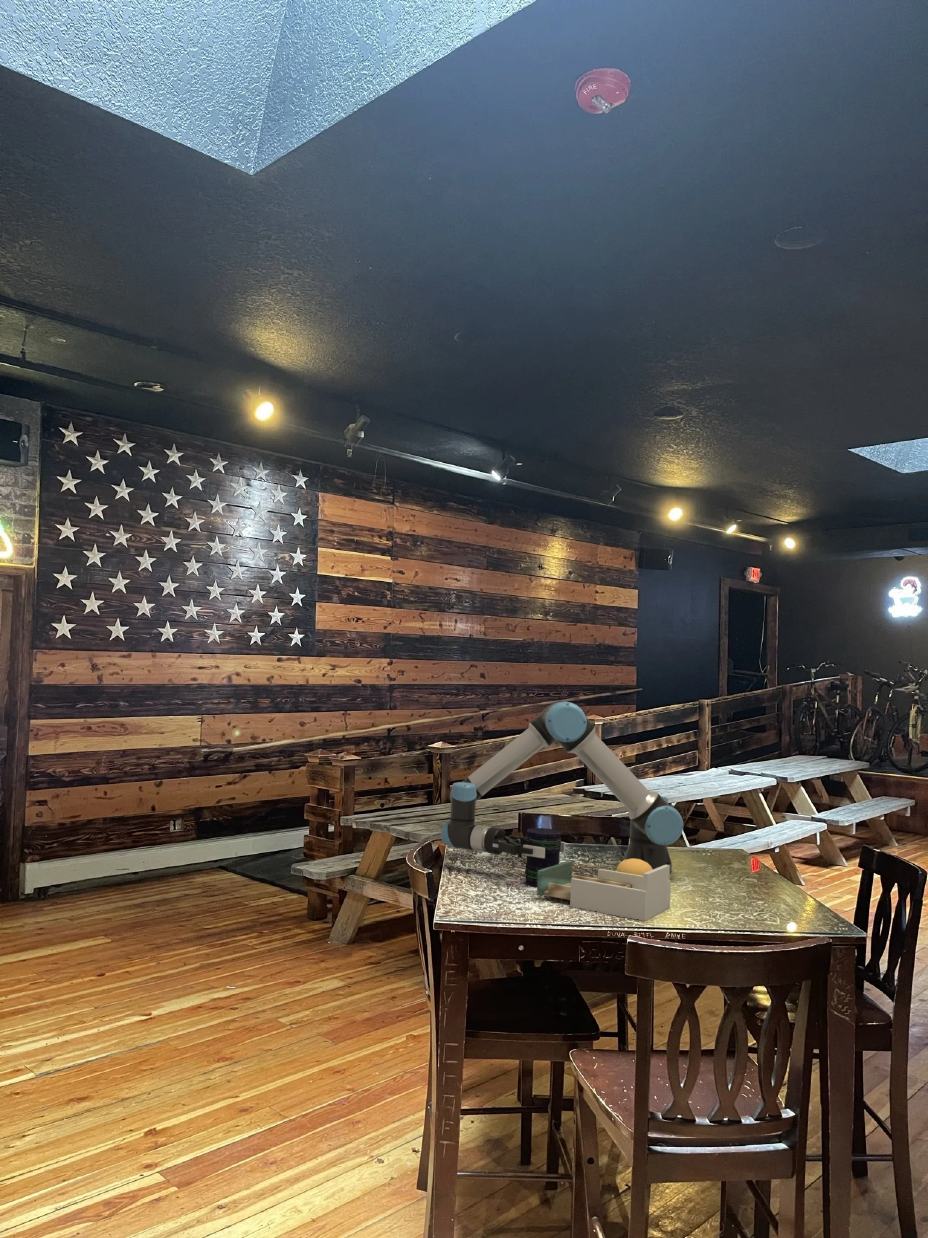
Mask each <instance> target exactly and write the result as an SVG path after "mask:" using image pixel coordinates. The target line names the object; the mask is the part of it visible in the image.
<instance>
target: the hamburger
mask: <svg viewBox="0 0 928 1238" xmlns="http://www.w3.org/2000/svg"><path fill="white" fill-rule="evenodd" d="M651 870H653V869H652V867H651V866H650V865H649V864H648V863H647V862H645V861H643V860H640V859H627V860H624V859H623V860H622V861H621V862H619V863H618V865H617V867H616V869H615V870H614V871H617V872H623V873H629V874H635V875H641V876H643V873H646V872H648V871H651Z"/></svg>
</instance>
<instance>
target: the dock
mask: <svg viewBox="0 0 928 1238" xmlns="http://www.w3.org/2000/svg"><path fill="white" fill-rule="evenodd" d="M670 873H671V872H670V865H663V866H661V867H658V868H656V869H653V870H651V871H648V872H646V873H643V876H641V875H635V874H629V873H623V872H617V871H615V870H611V869H604V868H598V869H597V879H601V880H607V881H613V882H618V883H624V884H630V885H632V888H628V887H622V886H616V885H611V884H605V883H599V882H593V881H588V880H582V879H576V878H572V879H571V896H570V900H569V901H570V903H569V907H570V908H574V907H576V908H575V909H579V908H582V909H581V910H585V911H590V910H591V911H590V912H595V911H597V912H596V913H599V914H600V913H601V914H607V915H610V914H612V915H611V916H615V915H616V917H621V916H622V917H621V918H627V919H631V918H632V919H631V920H636V919H639V920H638V921H641V920H642V921H641V922H646V921H648V920H650V919H651V918H653V916H654V917H656V916H657V915H659V914H661V913H664V912H665V911H667V910H669V909H671V887H672V886H671V885H672V880H671V879H670ZM649 918H650V919H649ZM647 919H648V920H647Z"/></svg>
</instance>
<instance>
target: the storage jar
mask: <svg viewBox="0 0 928 1238" xmlns="http://www.w3.org/2000/svg"><path fill="white" fill-rule="evenodd" d="M526 832H527V835H526V837H527V841H526V843H527V845H529V846H536V847H542V848H545V858H539V857H533V856H526V863H525V869H524V875H525V877H524V878H525V881H524V885H526V886H528V885H529V887H532V888H536V887H537V882H538V870H541V869H545V868H548V867H551V866H554V865H558V864H560V853H561V852H560V850H561V849H560V846H561V842H562V837H561V835H562V831H560V830H557V829H553V828H545V827H544V828H543V827H535V828H534V827H533V828H532V827H531V828H528V829H527V831H526Z"/></svg>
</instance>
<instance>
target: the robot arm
mask: <svg viewBox="0 0 928 1238" xmlns="http://www.w3.org/2000/svg"><path fill="white" fill-rule="evenodd" d="M555 742H557V743H558V744H559V745H560V746H561V747H562V748H563V750H564V751H565V752H567V754H575V755H576V756H577V757H578V758H579V759H580V760H581V762H582V763H584V765H585V766H586V767H587V768H588V769H589V770H590V771H591V772H592V773H593V774H594V775H595V776H596V777H597V779H599V780H600V782H601V783H603V785H604V786H605V787H606V788H607V789H608V790H609V791H610V792H611V793H612V794H613V795H614V796H615V797H616V799H617V800H618V801H619V802H620V803H622V805H623V806H624V807H625V808H626V809H627V810H628V818H629V819H630V825H629V842H628V843H629V844H628V847H627V849H626V851H625V855H624V858H623V861H624V860H627V859H640V860H643V861H645V862H647V863H648V864H649V865H650V866H651V867H652V869H656V868H658V867H661V866H663V865H670V873H671V872H673V864H672V860H671V856H670V852H669V849H668V846H669V845H672V844H674V843H675V842H677V841H678V839H680V837H681V835H682V834H683V830H684V820H683V816H682V815H681V814H680V812H679V811H678V810H677V809H676V808H674V807H673V806H671V805H670V804H669V799H668V797H666V796H661V794H659V793H658V792H657V791H655V790H654V791H651V790H649V789H648V788H647V787H646V786H645V785H644V784H643V783H642V782H641V780H639V778H638V777H636V775H634V773H633V772H632V771H631V770H630V769H629V768H628V767H627V766H626V765H625V764H624V763H623V761H622V760H621V759H619V758H618V756H617V755H616V754H615V753H614V752H613V750H611V749H610V748H609V747H608V746H607V745H606V744H605V742H604V741H602V740H601V738H600V737H599V736H598V735H597V734H596V726H595V725H594V724H593V722H591V720H590V719H588V717H587V716H586V714H585V713H584V710H583V709H582V708H581V707H579V705H577V704H576V703H573V702H570V701H555V702H553V703H550V704H549V705H548V706H546V707H545V708H544V709H543V710H542V711H541V712H540V713H539V714H537V716H536V717H535V718H534V719H533V720H532V721H531V722H528V728H527V729H525V730H524V731H523V732H522V733H520V735H518V736H517V737H515V739H513V740H512V741H511V742H509V743H508V744H507V745H505V747H503V748H502V749H501V750H500V751H498V752H497V753H496V754H494V755H493V756H492V757H491V758H490V759H488V760H487V761H486V762H484V763H483V764H482V765H481V766H480V767H478V768H477V769H476V770H474V771H473V772H472V773H471V774H469V776H467V777H466V778H464V780H462V781H458V782H454V783H452V786H451V790H450V793H449V800H450V801H449V802H450V818H449V820H447V821H446V822H444V823H443V825H442V829H441V831H440V838H441V841H442V843H443V845H445V846H447V847H452V848H455V849H461V850H468V851H474V852H478V854H480V855H481V854H482V853H487V854H491V855H502V853H506V854H510V855H512V856H517V857H518V858H523V856H526V857H527V856H533V857H539V858H545V848H542V847H536V846H529V845H527V843H526V841H527V836H520V835H517V834H516V835H511V834H510V835H508V836H507V834H506V832H505V830H504V829H503V828H500V827H499V828H498V827H493V826H492V827H491V826H488V825H480V824H475V823H476V806H477V801H478V800H480V799H481V798H482V797H483V796H485V794H487V793H488V792H489V791H490V790H492V789H493V788H494V787H495V786H496V785H498V784H499V783H500V782H501V781H503V780H504V779H505V778H507V777H508V776H509V775H510V774H512V772H515V770H516V769H517V768H519V767H521V766H522V765H523V764H524V763H525V762H527V760H529V759H531V758H532V756H534V755H535V754H536V753H538V752H539V751H540V750H541V749H543V748H549V747H550V746H552V745H553V744H554V743H555ZM560 849H561V850H560V853H565V852H566V842H564V841H561V846H560Z"/></svg>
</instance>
